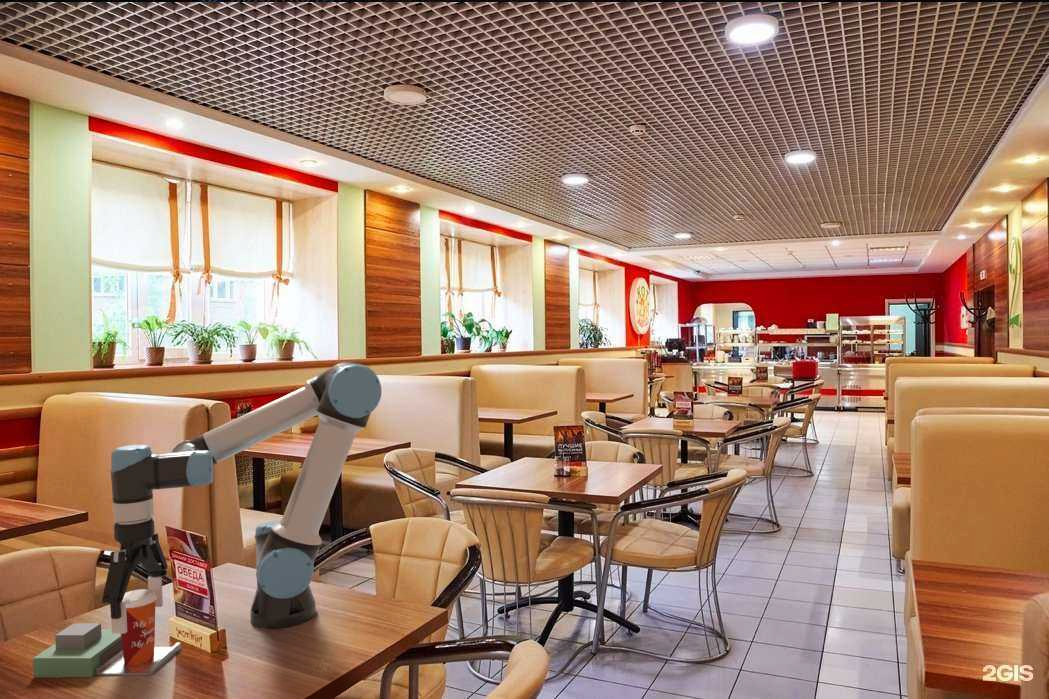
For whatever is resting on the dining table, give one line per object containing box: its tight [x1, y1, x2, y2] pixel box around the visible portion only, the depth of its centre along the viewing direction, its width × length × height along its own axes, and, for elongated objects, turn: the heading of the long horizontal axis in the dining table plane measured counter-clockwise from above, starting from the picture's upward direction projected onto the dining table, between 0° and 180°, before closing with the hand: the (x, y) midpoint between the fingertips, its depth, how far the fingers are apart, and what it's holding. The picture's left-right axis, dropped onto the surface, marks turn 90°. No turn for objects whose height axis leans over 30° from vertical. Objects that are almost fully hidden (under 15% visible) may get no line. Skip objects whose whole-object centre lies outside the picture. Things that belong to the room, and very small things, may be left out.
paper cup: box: [121, 588, 157, 666], centre depth 156 cm, size 8×8×14 cm
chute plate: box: [94, 642, 182, 676], centre depth 156 cm, size 12×12×1 cm
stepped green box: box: [32, 622, 122, 679], centre depth 156 cm, size 12×14×7 cm
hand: (138, 619), depth 156 cm, fingers open, 13 cm apart
